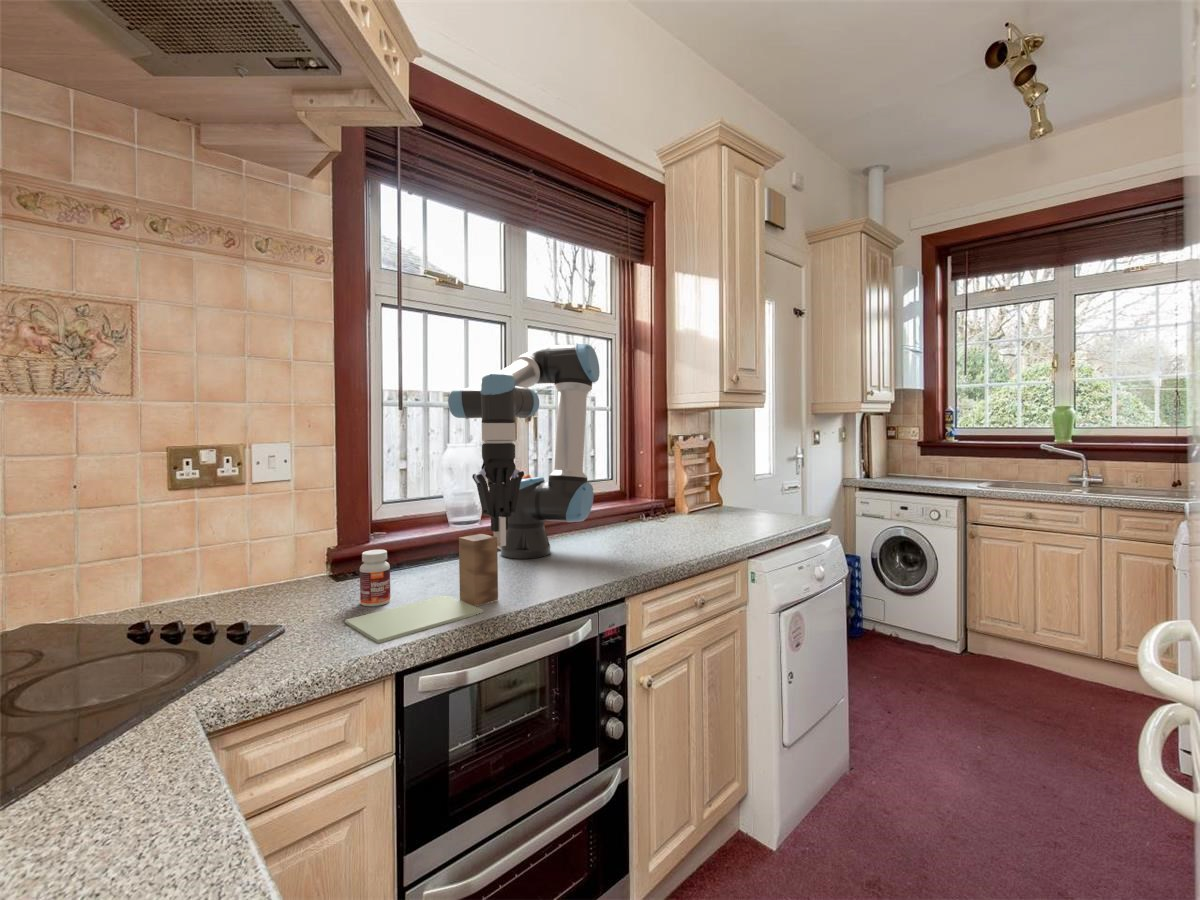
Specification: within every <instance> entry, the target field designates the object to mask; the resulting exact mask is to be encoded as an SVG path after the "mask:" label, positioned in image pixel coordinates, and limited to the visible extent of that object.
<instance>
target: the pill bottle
mask: <svg viewBox="0 0 1200 900" xmlns="http://www.w3.org/2000/svg"><path fill="white" fill-rule="evenodd" d="M387 560H388V551H387V550H386V549H369V550H366V551H363V552H362V553H361V562H362V564H361V565H360V567H359V595H360V596H359V598H360V599H359V600H360V604H361V606H363V607H372V608H373V607H380V606H383V605H386V604H388V603H390V601H391V567H390V566H391V565H390V563H389V562H387Z"/></svg>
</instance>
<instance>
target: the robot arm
mask: <svg viewBox="0 0 1200 900" xmlns="http://www.w3.org/2000/svg"><path fill="white" fill-rule="evenodd" d="M599 378H600V364H599V358H598V356H597V353H596V350H595V348H594V347H593V346H592V345H591V344H589V343H588V344H587V343H575V344H561V345H559V344H558V345H544V346H541V347H537V348H535V349H531V350H530V351H528V352H526V353H523V354H521V355H519V356H518V357H516V358H514V359H513V361H512V362H511V365H510V364H509V366H507V367H505V368H503V369H501V370H500V371H498V372H496V373H487V374H484V375H483V376H482V377H481V381H480V382H478V383H477V384H474V385H472V386H470V387H467V388H464V387H461V388H455V389H453V390H451V392H450V393H449V395H448V400H447V401H448V402H447V404H448V405H447V406H448V409H449V412H450V414H451V415H452V416H453V417H454V418H458V419H461V418H462V419H467V420H468V419H481V440H482V441H483V442H484V443H482V444H481V458H482V465H481V469H480V471H479V472H477V473H473V474H472V479H473V481H474V482H475V484H476V488H477V489H476V490H477V493H478V498H479V501H480V506H481V511H482V514H483V515H484V516H487V517H490V531H491V532H493V535H492V536H494V537H497V547H500V556H502V557H505V558H508V559H520V560H521V559H523V560H525V559H535V558H536V559H537V558H542V557H545V556H548V555H549V554H551V544H550V541H549V537H548V534H547V531H546V528H545V521H548V522H549V521H550V522H563V523H564V522H565V523H575V522H576V523H580V522H584V521H585V520H586V519H587V518H588V517H589V514H590V513H591V511H592V507H593V503H594V496H595V495H594V493H595V492H594V487H593V485H592V483H589V482H588V476H587V475H586V474H585V473H584V458H585V457H584V456H585V455H584V454H585V435H586V416H587V398H588V397H587V395H588V394H589V393H590V391H591V390H593V383H596V382H598V381H599ZM539 384H540V385H541V384H554V385H553V387H554V389H555V390H556V391H557V392H558V398H557V399H558V401H557V414H556V415H557V416H556V418H557V419H556V420H557V421H556V431H555V432H556V433H555V435H556V436H555V449H554V451H555V452H554V453H555V455H554V468H553V471H551V472H550V474H549V475H548V481H545V477H543V476H537V477H528V478H524V476H525V473H524V471H521V470H519V469H518V468H517V467H516V463H515V458H516V444H515V443H514V441H516V418H520V419H527V418H531V417H533V416H534V415H535V414H537V412H538V411H539V408H540V398H539V395H538V393H536V391H535V390H533V389H531V388H530V387H533V386H535V385H539Z"/></svg>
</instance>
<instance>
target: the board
mask: <svg viewBox="0 0 1200 900" xmlns="http://www.w3.org/2000/svg"><path fill="white" fill-rule="evenodd" d="M482 612H483V613H484V609H481V608H479V607H478V606H477V607H474V606H472V605H469V604H467V603H464V602H462V601H460V599H459V600H458V599H456V598H455V597H451V596H449V595H446V594H444V595H439V596H435V597H432V598H428V599H423V600H419V601H416V602H411V603H407V604H403V605H400V606H395V607H392V608H387V609H383V610H379V611H375V612H371V613H367V614H364V615H363V614H362V615H360V616H355V617H351V618H348V619H345V620H344V623H345V624H346V625H347V626H350V627H351V628H353V629H354V630H356V631H358V632H359V633H361V634H362V635H363V636H365V637H367V638H369V639H371V640H372V641H374V642H375V643H377V644H380V643H384V642H387V641H389V640H394V639H398V638H401V637H404V636H409V635H411V634H414V633H418V632H421V631H425V630H429V629H432V628H436V627H439V626H442V625H445V624H448V623H452V622H456V621H459V620H463V619H465V618H466V617H467V618H470V617H472V616H476V614H477V615H480V614H483V613H482ZM479 613H480V614H479Z"/></svg>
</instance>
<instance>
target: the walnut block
mask: <svg viewBox="0 0 1200 900" xmlns="http://www.w3.org/2000/svg"><path fill="white" fill-rule="evenodd" d="M498 556H499V555H498V546H497V537H494V535H489V534H484V533H478V534H473V535H467V536H466V535H465V536H461V537H460V536H459V537H458V557H459V558H458V559H459V560H458V561H459V562H458V566H459V568H458V569H459V570H458V571H459V577H458V578H459V601H462V602H464V603H467V604H469V605H472V606H474V607H476V606H477V607H479V605H480V606H483V605H482V604H484V605H486V604H485V603H487V604H490V603H489V602H491V603H494V602H493V601H495V602H497V600H498V601H499V582H498V581H499V578H498V577H499V573H498V572H499V571H498V570H499V569H498V567H499V566H498V565H499V564H498V563H499V562H498Z"/></svg>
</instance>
